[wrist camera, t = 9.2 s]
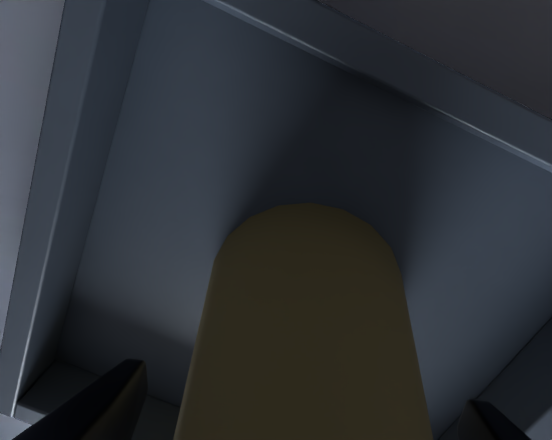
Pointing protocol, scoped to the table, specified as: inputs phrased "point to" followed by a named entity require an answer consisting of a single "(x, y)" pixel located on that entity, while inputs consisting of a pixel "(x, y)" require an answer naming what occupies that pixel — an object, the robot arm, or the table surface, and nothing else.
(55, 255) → the grey tray
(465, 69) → the table surface
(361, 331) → the olive game pawn
